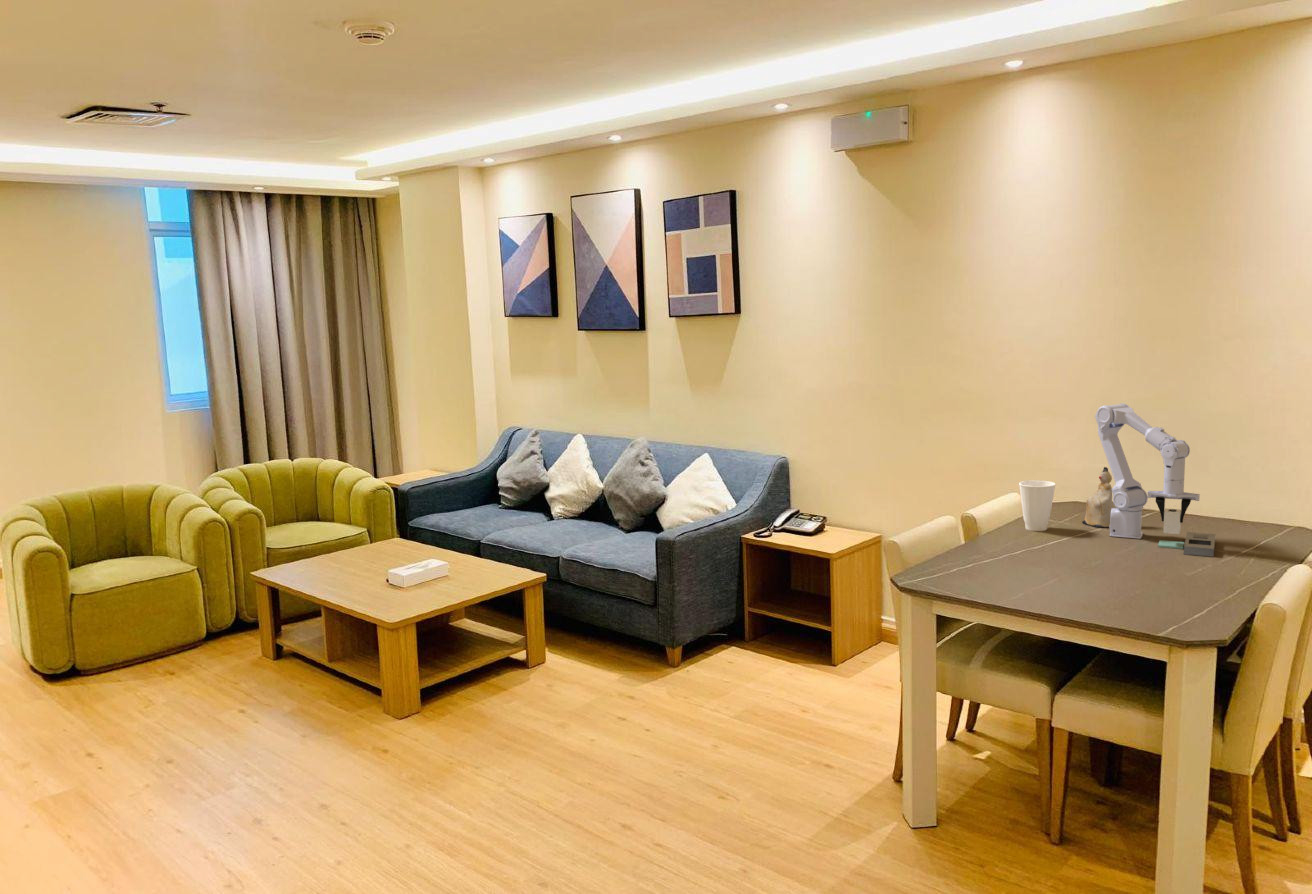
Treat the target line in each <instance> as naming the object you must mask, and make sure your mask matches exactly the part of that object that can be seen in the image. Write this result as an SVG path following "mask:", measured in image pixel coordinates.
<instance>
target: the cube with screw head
mask: <svg viewBox="0 0 1312 894" xmlns="http://www.w3.org/2000/svg"><path fill="white" fill-rule="evenodd" d="M1180 517H1181V508H1179V509H1177V508H1165V509H1164V521H1163V534H1172V535H1180V534H1181V524H1182V523H1180Z"/></svg>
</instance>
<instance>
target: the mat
mask: <svg viewBox="0 0 1312 894" xmlns="http://www.w3.org/2000/svg"><path fill="white" fill-rule="evenodd" d="M1158 541H1159V542H1158V544H1157V547H1158V548H1167V549H1176V550H1184V545H1185V541H1177V540H1176V541H1175V540H1162V539H1161V540H1160V539H1159V540H1158Z"/></svg>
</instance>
